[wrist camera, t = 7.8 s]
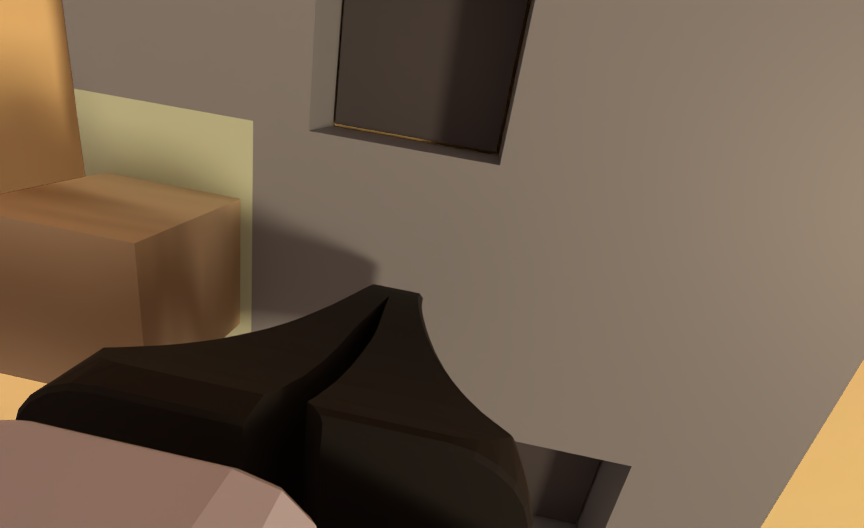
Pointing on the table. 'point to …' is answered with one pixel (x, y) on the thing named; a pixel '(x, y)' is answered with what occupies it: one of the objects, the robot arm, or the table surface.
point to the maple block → (113, 270)
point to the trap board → (536, 210)
